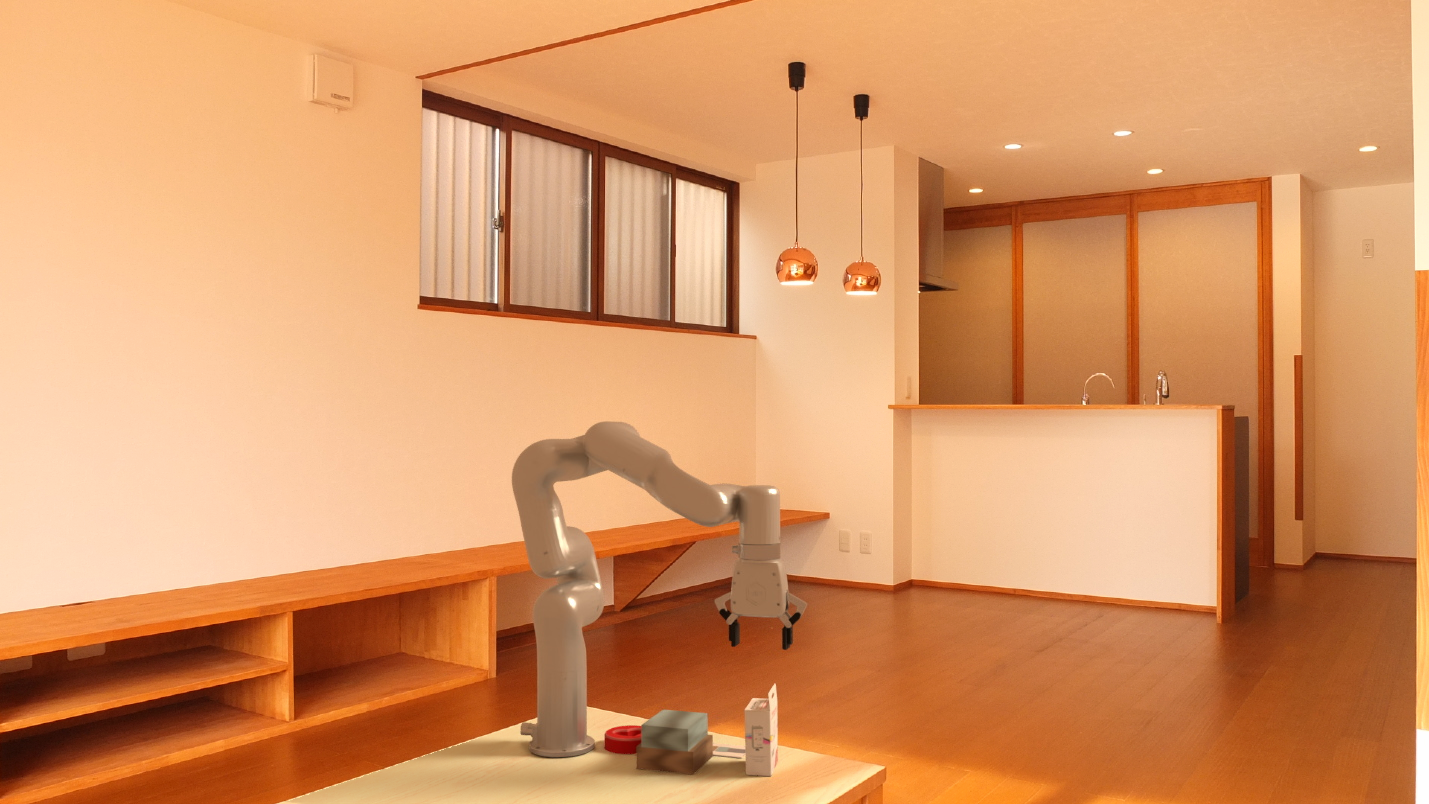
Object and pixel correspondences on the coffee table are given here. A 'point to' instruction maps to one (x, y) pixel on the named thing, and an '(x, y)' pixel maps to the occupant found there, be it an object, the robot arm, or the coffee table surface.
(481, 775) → the coffee table surface
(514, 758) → the coffee table surface
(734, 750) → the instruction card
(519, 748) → the coffee table surface
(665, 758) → the pedestal
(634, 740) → the decorative ornament
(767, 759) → the ink cartridge box
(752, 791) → the coffee table surface
